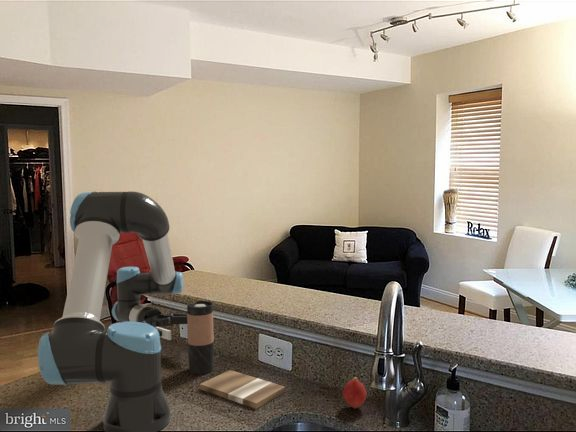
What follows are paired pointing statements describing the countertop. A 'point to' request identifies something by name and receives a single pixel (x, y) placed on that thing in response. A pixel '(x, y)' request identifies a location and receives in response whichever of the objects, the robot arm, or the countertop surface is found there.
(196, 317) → the travel mug
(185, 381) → the countertop surface
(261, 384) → the wooden cutting board
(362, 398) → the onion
